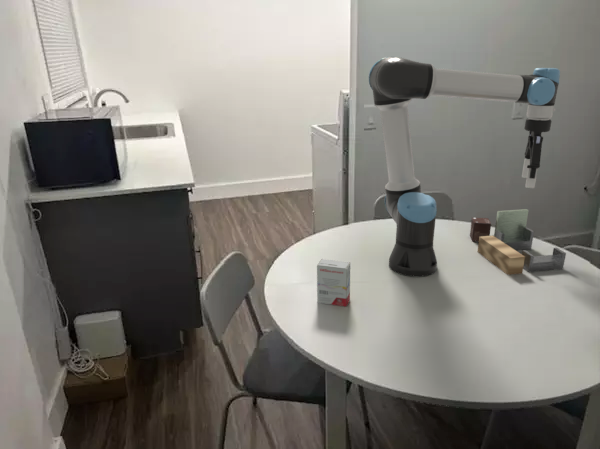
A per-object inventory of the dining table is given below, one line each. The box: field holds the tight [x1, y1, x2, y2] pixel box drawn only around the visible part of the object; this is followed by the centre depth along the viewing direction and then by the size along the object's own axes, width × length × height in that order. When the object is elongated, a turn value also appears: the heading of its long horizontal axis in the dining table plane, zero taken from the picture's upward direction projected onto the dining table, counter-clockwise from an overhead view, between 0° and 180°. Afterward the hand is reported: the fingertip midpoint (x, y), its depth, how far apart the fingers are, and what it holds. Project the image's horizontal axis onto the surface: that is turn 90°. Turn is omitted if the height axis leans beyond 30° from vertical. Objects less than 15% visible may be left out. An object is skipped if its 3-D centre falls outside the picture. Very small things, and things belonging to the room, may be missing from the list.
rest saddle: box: [521, 247, 567, 273], centre depth 149 cm, size 12×4×6 cm, turn 99°
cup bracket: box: [493, 208, 535, 251], centre depth 163 cm, size 12×5×13 cm, turn 99°
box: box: [469, 217, 492, 242], centre depth 172 cm, size 6×6×7 cm
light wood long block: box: [477, 234, 525, 276], centre depth 153 cm, size 18×5×6 cm, turn 10°
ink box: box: [316, 258, 351, 307], centre depth 130 cm, size 9×5×12 cm, turn 71°
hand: (527, 182), depth 157 cm, fingers open, 13 cm apart
